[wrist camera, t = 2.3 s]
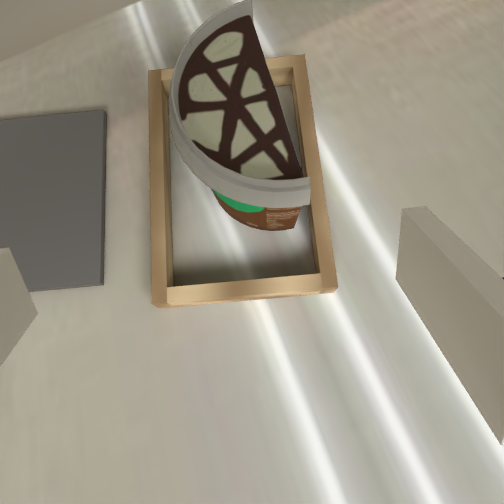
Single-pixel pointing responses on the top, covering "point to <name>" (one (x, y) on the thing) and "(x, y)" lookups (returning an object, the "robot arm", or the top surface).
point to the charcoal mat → (54, 198)
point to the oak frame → (162, 279)
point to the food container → (236, 123)
